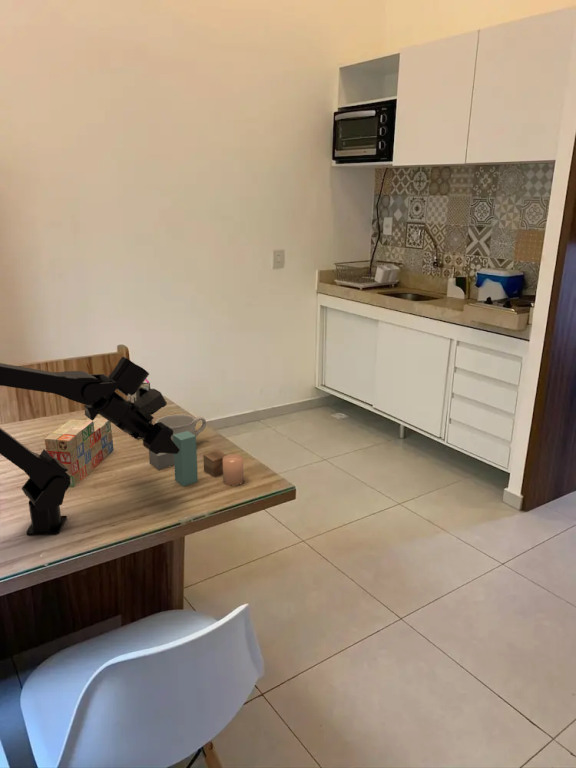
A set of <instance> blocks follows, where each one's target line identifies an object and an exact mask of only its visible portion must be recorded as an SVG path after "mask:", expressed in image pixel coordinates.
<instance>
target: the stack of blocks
mask: <svg viewBox="0 0 576 768" xmlns="http://www.w3.org/2000/svg"><path fill="white" fill-rule="evenodd" d="M113 442H114V441H113V429H112V423H111V422H110V421H108V420H107V419H105V418H104V417H95V419H94V420H90V419H89V418H88V417H87V418H86V420H84V419H70V420H68V421H67V422H65V424H63V425H62V426H60V427H59V428H57V429H56V430H54V432H52V433H50V434H48V436H46V437H45V438H44V444H45V450H46V451H47V452H48V453H49V454H50V455H51V456H52V457H53V458H57V459H58V460H59V461H60V462H61V463H62V464H63V465H64V466H65V467H66V468H67V469H68V471H66V473H67V474H68V475H69V476H70V478H71V479H70V485H69V487H71V488H74V487H75V486H77V485H79V483H80V482H82V480H84V479H85V478H86V477H87V476H88V475H89V474H90V473H92V471H93V470H94V469H95V468H96V467H97V466H98V465H99V464H100V463H101V462H102V461H104V460H105V459H106V458H107V457H108V456H109V455H110V454H111V453H112V452H113V451H114V443H113Z"/></svg>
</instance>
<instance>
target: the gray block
mask: <svg viewBox="0 0 576 768" xmlns="http://www.w3.org/2000/svg"><path fill="white" fill-rule="evenodd" d="M148 457H149V458H148V459H149V464H151V466H153V467H154V468H155V469H156V470H157V471H161V470H163V469H166V468H171V467H174V454H171V453H159V454H157V455H156V454H155V453H153V452H152V451H150V450H149V449H148Z"/></svg>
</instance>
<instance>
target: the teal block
mask: <svg viewBox="0 0 576 768" xmlns="http://www.w3.org/2000/svg"><path fill="white" fill-rule="evenodd" d="M173 442H174V443H175V445H176V446H177V447H178V448H179V450H180V451H179V452H178V454H174V466H173V467H174V481H176V482H177V483H178V484H179V485H180V486H182V487H186V486H189V485H192V484H195V483H198V482H199V479H198V478H199V475H198V453H197V451H198V450H197V449H198V448H197V437H196V436H195V435H193V434H192V433H190V432H189V431H185V432H181V433H178V434H174V435H173Z"/></svg>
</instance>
